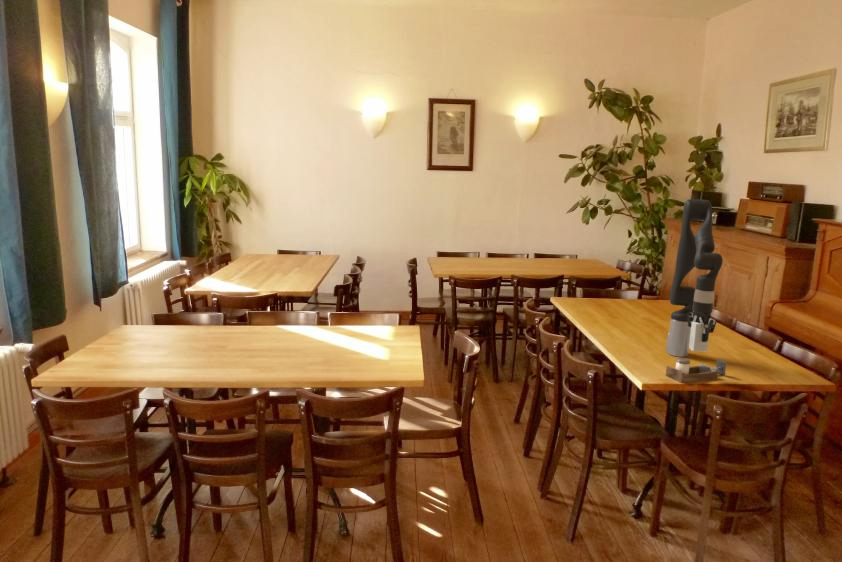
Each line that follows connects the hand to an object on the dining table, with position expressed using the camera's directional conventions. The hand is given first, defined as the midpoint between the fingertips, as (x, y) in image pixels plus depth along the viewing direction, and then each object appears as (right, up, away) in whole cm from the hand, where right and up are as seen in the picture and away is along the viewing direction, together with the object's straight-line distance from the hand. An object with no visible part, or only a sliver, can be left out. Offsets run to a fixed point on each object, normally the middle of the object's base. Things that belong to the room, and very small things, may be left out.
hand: (699, 339), depth 247 cm
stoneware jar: (-7, -16, +1) cm, 18 cm away
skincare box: (0, -5, +1) cm, 5 cm away
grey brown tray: (-2, -17, +3) cm, 17 cm away
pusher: (+9, -16, +6) cm, 19 cm away
